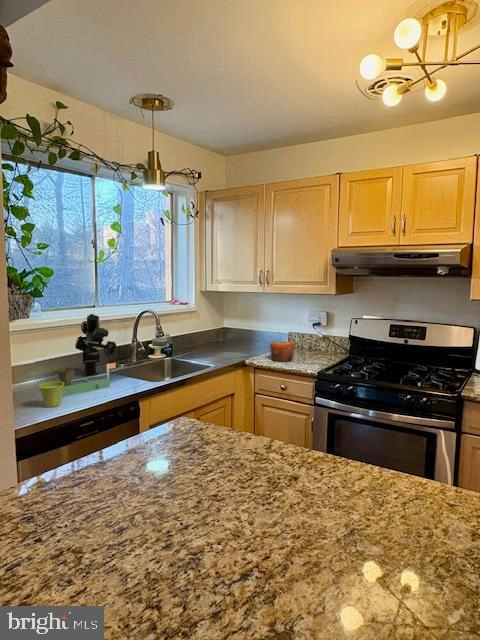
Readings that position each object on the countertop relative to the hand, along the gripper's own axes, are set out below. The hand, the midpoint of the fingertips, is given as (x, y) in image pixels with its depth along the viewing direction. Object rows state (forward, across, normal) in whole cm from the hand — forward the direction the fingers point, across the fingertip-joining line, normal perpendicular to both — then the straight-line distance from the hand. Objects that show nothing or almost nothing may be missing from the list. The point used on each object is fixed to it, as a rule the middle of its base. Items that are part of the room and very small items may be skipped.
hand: (99, 354), depth 199 cm
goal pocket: (+8, -6, +15) cm, 18 cm away
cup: (-1, -9, +20) cm, 22 cm away
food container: (+3, +110, -16) cm, 111 cm away
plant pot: (+26, -22, +11) cm, 36 cm away
